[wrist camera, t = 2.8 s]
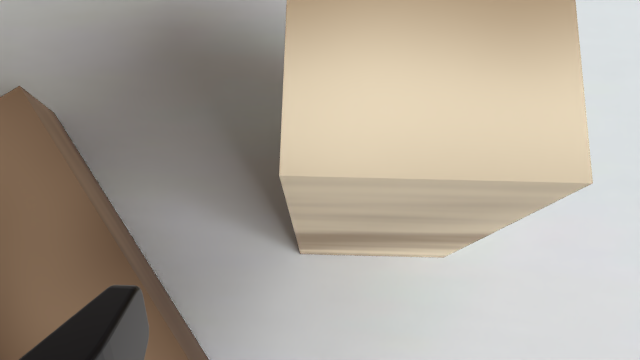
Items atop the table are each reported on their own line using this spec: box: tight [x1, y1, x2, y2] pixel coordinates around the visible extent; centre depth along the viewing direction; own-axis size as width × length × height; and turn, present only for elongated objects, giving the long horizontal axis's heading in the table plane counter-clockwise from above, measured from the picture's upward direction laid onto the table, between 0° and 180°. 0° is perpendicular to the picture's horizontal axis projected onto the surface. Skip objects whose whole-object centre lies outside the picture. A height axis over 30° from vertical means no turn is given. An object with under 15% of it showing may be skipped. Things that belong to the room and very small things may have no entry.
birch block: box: [279, 0, 593, 257], centre depth 15 cm, size 5×5×11 cm
